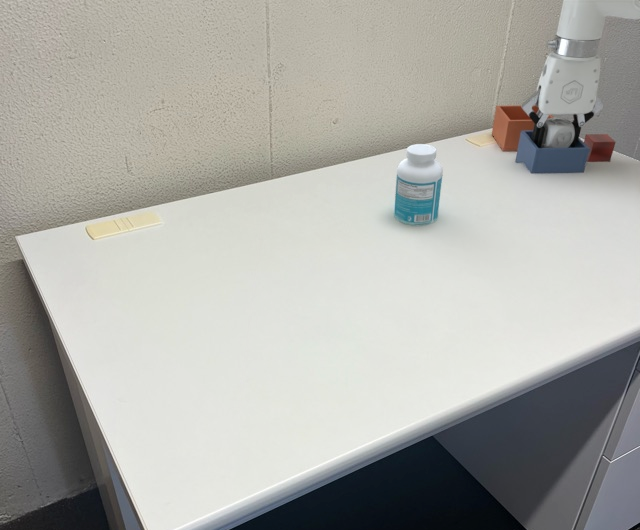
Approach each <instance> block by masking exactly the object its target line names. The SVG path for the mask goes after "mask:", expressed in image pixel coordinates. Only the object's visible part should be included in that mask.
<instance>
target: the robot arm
mask: <svg viewBox="0 0 640 530" xmlns="http://www.w3.org/2000/svg"><path fill="white" fill-rule="evenodd" d="M607 17H612V18H613V17H614V18H619V19H626V20H640V0H563V1H562V5H561V10H560V15H559V19H558V25H557V29H556V34H555V35H554V38H553V39H551V40H550V39H549V40H547V41H546V45H545V46H546V49H550V50H551V51H552V52H550V53H548V54H547V58H546V60H545V62H544V64H543V67H542V71H541V72H540V73H541V74H540V77H539V80H538V83H537V87H536V91H535V92H534V93H532V94H531V95H530V96H529V97H528V98H527V99H526V100H525V101H524V102H522V103H521V108H522V109H523V110H524V111H525V112H526V114H527V115H528V116H529V117H530V118H531V120H532V121H533V122H534V123H535V124H534V129H533V134H532V141H533V142H534V143H535V144H536V146H537V147H538V148H540V147H541V146H542V141H543V137H544V132H545V128H544V123H545V121H546V120H547V118H548V116H549V115H550V114H551V115H552V116H553V115H554V116H555V115H558V116H559V115H572V117H573V120H572V121H571V122H572V124H573V126H574V129H575V136H574V140H573V142H572V143H571V145H570V147H575V144H576V141H578V139H579V138H580V135H581V131H582V128H583V127H584V126H586V123H587V122H589V121H590V120H591V119H592V118H593V117H594V116H595V115H597V114H598V113H600V111H602V110H603V108H605V106H604V104H603V102H602V101H601V99H600V97H599V96H598V90H599V83H600V76H601V66H602V56H601V55H599V54H598V52H599V48H600V43H601V39H602V35H603V31H604V27H605V23H606V20H607ZM533 105H535V106H537V107H539V110H538V112H537V113H535V112H534V111H533V110H532V106H533Z"/></svg>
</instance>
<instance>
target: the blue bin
mask: <svg viewBox="0 0 640 530" xmlns="http://www.w3.org/2000/svg"><path fill="white" fill-rule="evenodd" d="M532 134H533V130H527V131H521V134H520V139H519V145H518V150H517V151H516V156H515V159H514V160H515V161H514V162H515V164H523V165H524V166H525V167H526V168H527V170H528V171H529V173H530V174H584V173H585V170H586V169H585V168H586V165H587V163H588V162H587V158H588V154H589V150H590V148H589V147H588V146H587V145H586V144H585V143H584V140H582V139H581V138H580V137H579V139H578V141H576V144H575V147H570V146H569V147H568V148H541V147H540V148H538V147H537V146H536V144H535V143H534V142H533V141H532Z"/></svg>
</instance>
